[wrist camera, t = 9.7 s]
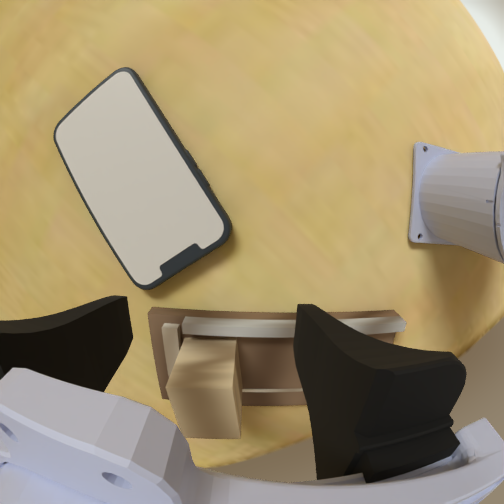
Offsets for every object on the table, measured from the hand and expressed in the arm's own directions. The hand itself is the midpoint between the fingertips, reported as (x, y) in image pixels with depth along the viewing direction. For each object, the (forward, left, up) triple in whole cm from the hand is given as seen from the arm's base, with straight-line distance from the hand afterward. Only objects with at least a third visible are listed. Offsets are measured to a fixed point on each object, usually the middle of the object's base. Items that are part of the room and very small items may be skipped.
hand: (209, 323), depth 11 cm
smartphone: (+7, -6, -10) cm, 14 cm away
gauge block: (+1, +8, -8) cm, 12 cm away
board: (-4, +9, -9) cm, 13 cm away
